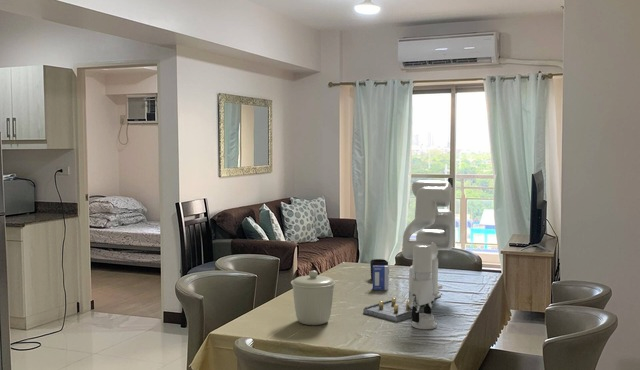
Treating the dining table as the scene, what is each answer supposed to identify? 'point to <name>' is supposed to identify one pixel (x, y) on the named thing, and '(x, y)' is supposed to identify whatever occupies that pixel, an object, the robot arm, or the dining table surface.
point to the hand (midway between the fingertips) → (421, 319)
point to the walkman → (380, 277)
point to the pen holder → (377, 264)
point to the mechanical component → (425, 322)
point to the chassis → (391, 310)
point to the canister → (313, 298)
